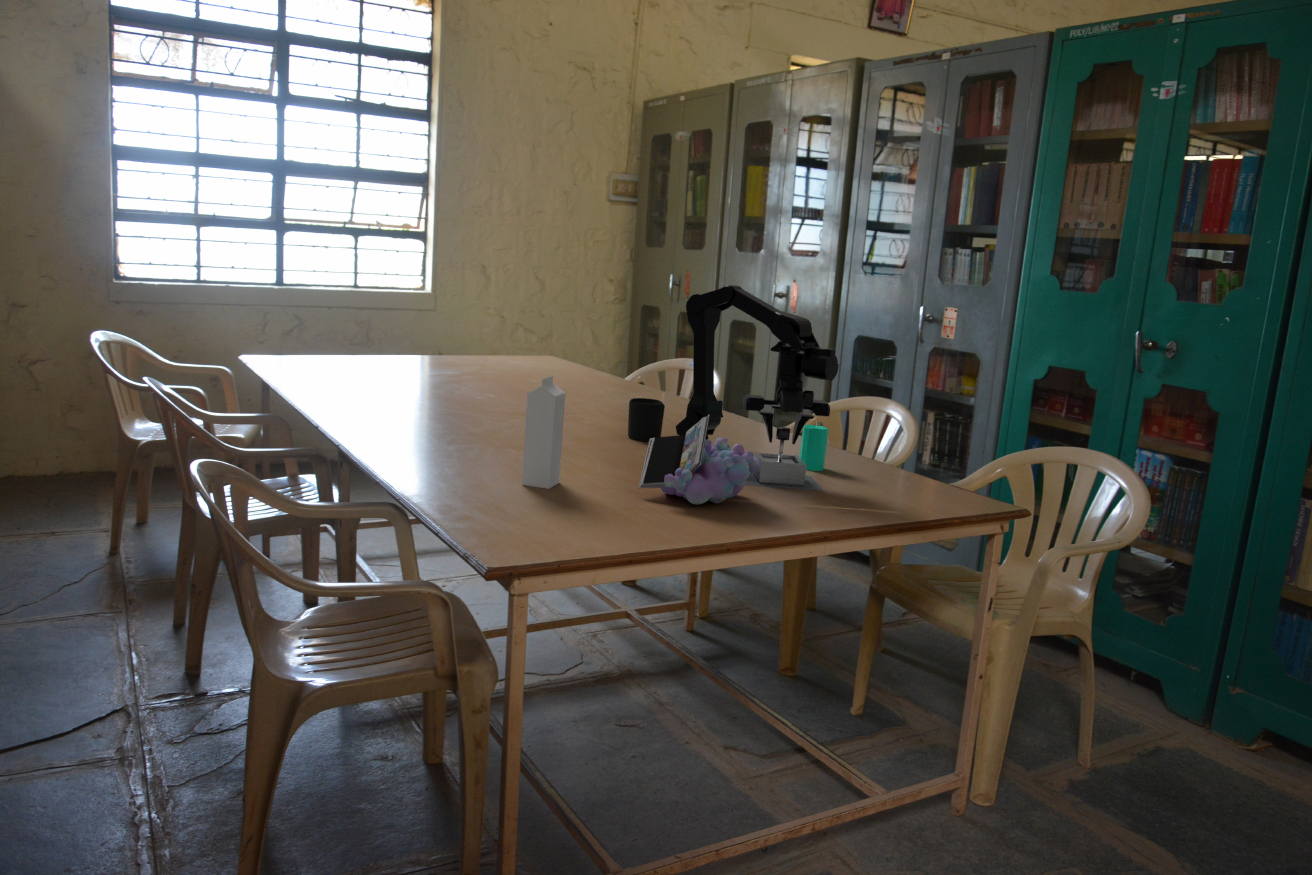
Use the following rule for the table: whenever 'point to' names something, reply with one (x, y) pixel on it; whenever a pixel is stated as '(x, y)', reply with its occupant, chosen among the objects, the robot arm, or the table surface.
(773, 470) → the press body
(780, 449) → the plunger
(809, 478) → the slate mat
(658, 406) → the pen holder
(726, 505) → the table surface
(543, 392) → the milk
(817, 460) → the candle
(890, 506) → the table surface
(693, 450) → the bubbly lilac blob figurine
